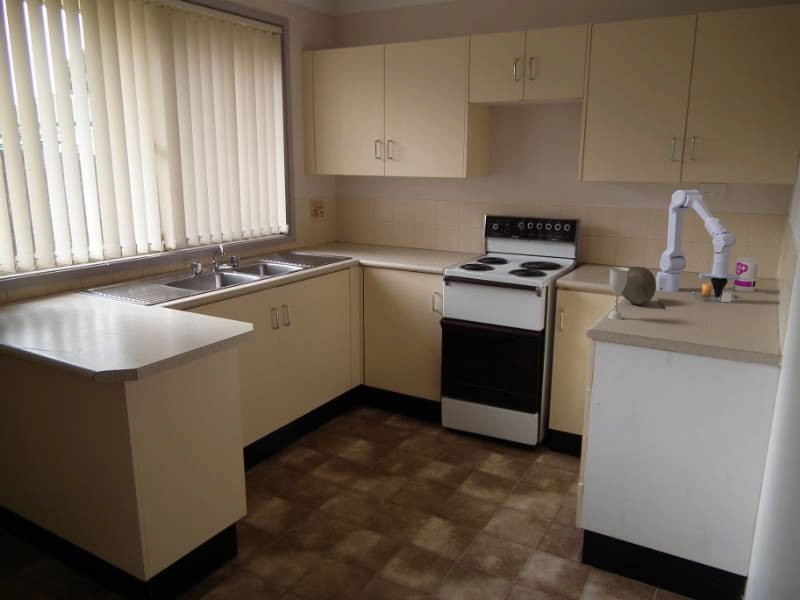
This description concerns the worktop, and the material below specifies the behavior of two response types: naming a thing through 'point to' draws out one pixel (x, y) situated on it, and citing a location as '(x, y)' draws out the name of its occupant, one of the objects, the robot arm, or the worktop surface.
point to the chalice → (617, 287)
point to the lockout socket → (726, 291)
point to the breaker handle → (725, 296)
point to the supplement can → (746, 274)
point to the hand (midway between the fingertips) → (717, 296)
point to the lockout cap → (706, 290)
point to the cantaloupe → (639, 285)
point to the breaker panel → (713, 299)
